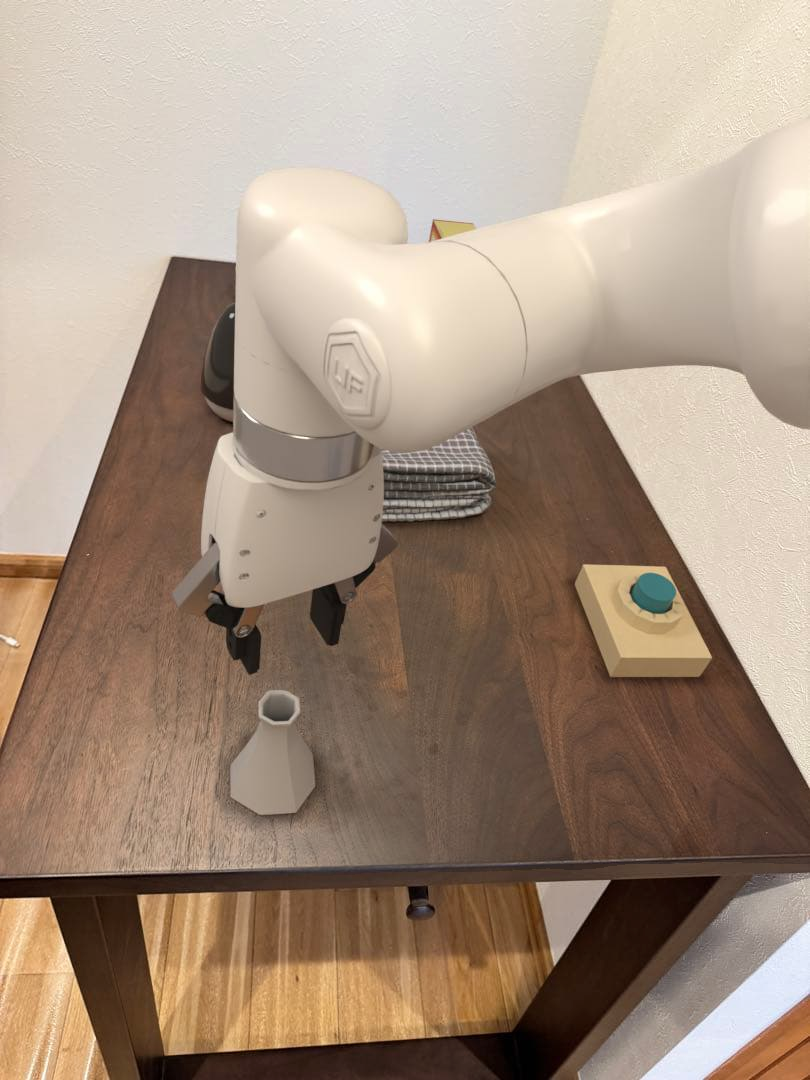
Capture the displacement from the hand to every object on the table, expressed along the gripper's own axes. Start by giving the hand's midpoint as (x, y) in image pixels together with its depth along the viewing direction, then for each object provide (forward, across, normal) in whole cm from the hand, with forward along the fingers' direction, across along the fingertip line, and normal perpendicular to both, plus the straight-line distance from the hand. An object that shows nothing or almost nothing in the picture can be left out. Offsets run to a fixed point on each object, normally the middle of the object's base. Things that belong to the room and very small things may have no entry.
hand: (285, 642), depth 53 cm
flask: (+18, 0, 0) cm, 18 cm away
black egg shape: (+18, -18, -50) cm, 56 cm away
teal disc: (+13, -42, +1) cm, 44 cm away
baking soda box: (+18, -58, -63) cm, 87 cm away
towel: (+18, -31, -30) cm, 47 cm away
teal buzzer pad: (+17, -42, 0) cm, 46 cm away
